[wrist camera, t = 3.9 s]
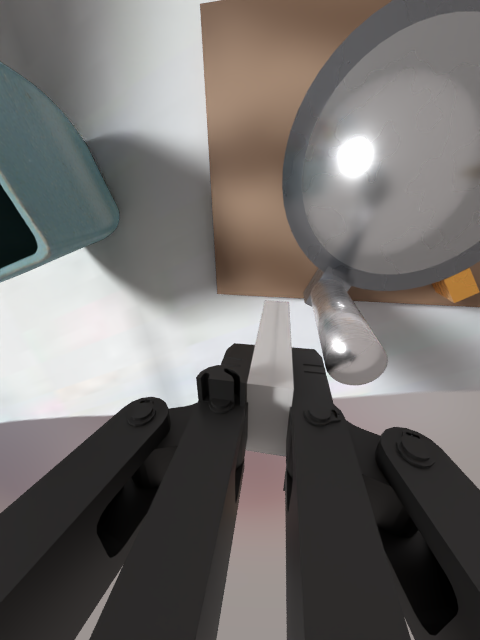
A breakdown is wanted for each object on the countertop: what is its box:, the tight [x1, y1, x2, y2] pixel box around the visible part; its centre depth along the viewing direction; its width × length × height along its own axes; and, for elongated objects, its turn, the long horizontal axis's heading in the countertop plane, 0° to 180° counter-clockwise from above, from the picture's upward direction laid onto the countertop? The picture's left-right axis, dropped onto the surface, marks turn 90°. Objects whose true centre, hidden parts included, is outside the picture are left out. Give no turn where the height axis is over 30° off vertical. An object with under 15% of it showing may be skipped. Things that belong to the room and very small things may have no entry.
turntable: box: [282, 0, 480, 385], centre depth 9 cm, size 14×13×9 cm
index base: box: [200, 0, 480, 307], centre depth 12 cm, size 15×21×5 cm
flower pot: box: [0, 62, 119, 282], centre depth 14 cm, size 9×9×9 cm
